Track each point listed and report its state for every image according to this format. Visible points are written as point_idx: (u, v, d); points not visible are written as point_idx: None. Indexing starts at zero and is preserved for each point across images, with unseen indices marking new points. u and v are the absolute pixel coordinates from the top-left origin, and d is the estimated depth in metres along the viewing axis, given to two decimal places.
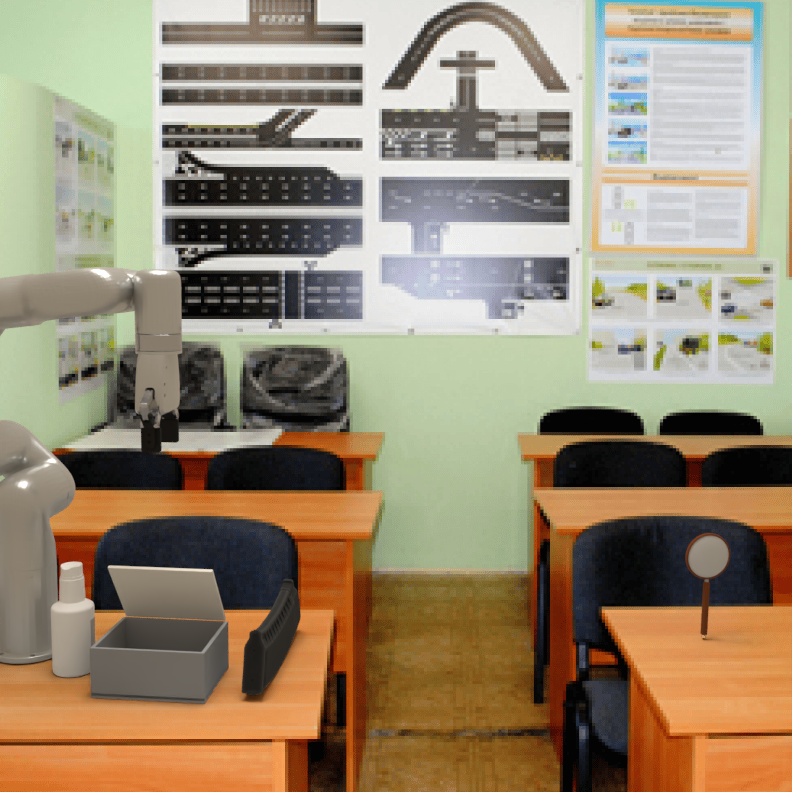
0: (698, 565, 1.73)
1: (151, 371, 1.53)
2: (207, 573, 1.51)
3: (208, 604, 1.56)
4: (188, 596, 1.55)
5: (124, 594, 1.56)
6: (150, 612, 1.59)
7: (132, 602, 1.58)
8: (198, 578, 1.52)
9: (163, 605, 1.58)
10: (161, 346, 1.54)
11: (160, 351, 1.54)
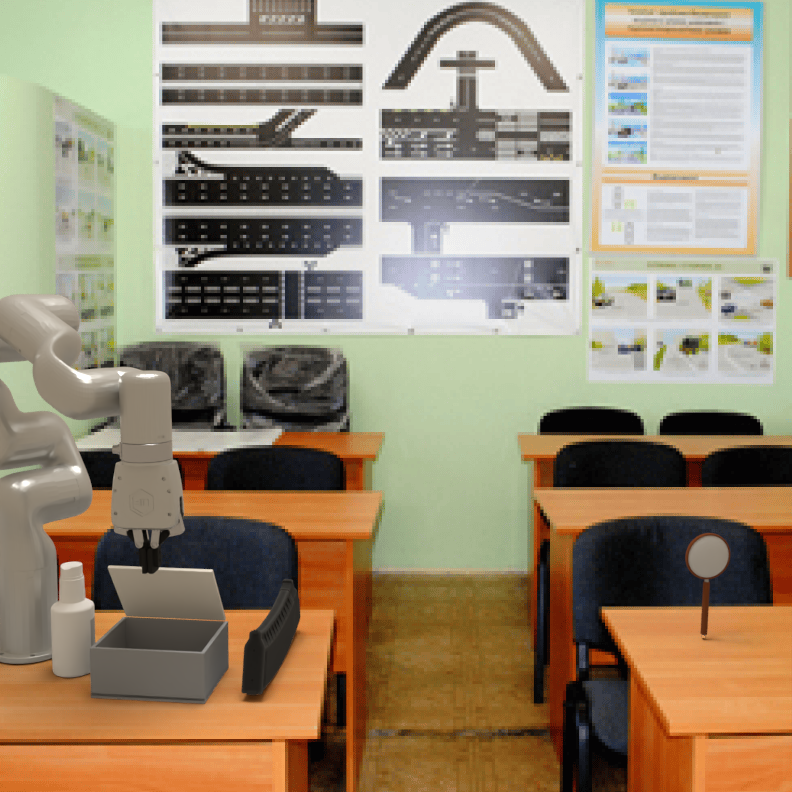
0: (698, 565, 1.73)
1: (179, 479, 1.44)
2: (207, 573, 1.51)
3: (208, 604, 1.56)
4: (188, 596, 1.55)
5: (124, 594, 1.56)
6: (150, 612, 1.59)
7: (132, 602, 1.58)
8: (198, 578, 1.52)
9: (163, 605, 1.58)
10: None
11: None
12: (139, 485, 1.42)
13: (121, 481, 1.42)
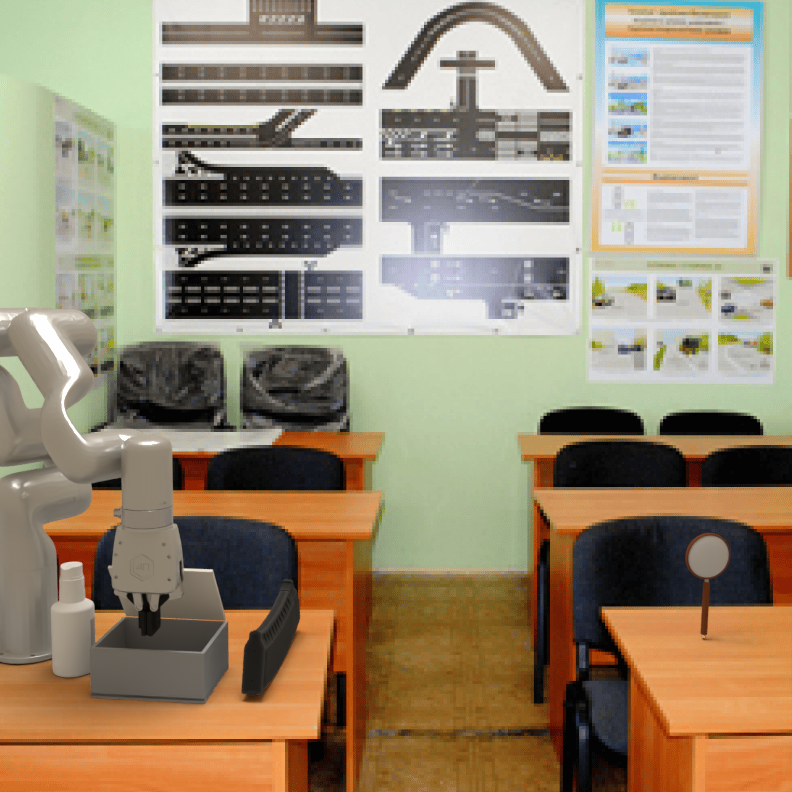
0: (698, 565, 1.73)
1: (179, 543, 1.46)
2: (207, 573, 1.51)
3: (208, 604, 1.56)
4: (188, 596, 1.55)
5: None
6: None
7: None
8: (198, 578, 1.52)
9: (163, 605, 1.58)
10: None
11: None
12: (139, 550, 1.43)
13: (122, 546, 1.43)
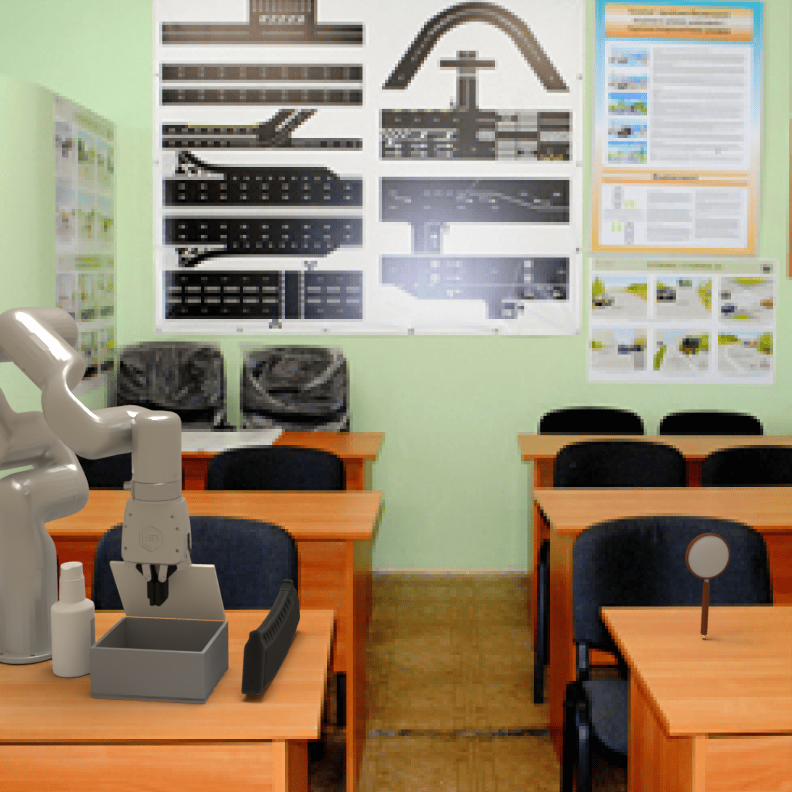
0: (698, 565, 1.73)
1: (187, 516, 1.50)
2: (208, 568, 1.52)
3: (209, 602, 1.57)
4: (189, 594, 1.56)
5: (125, 592, 1.57)
6: (150, 611, 1.59)
7: (133, 601, 1.58)
8: (199, 574, 1.53)
9: (163, 604, 1.58)
10: None
11: (181, 494, 1.50)
12: (149, 522, 1.47)
13: (132, 517, 1.48)
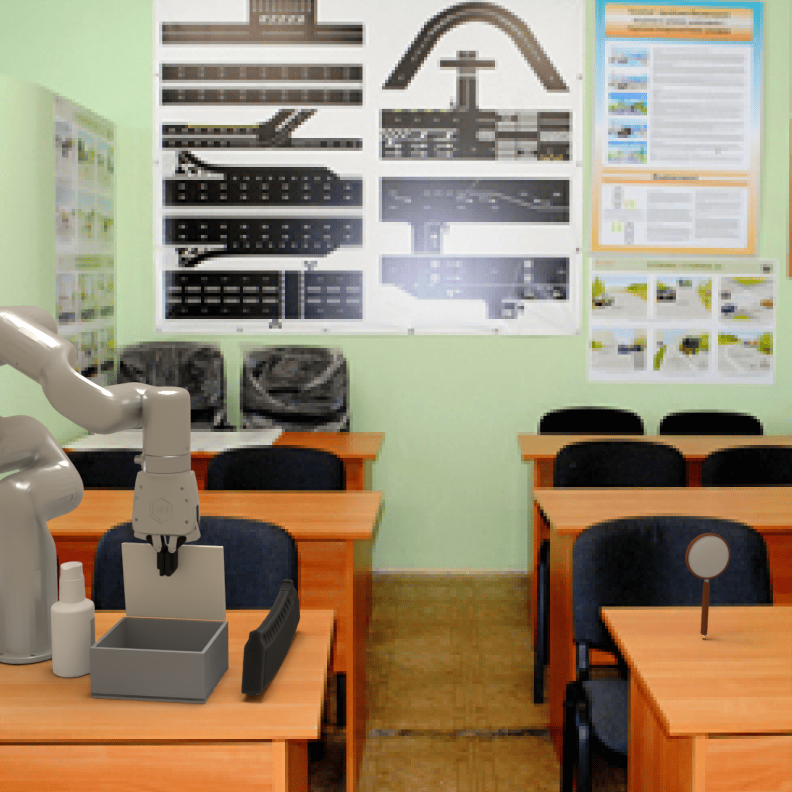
0: (698, 565, 1.73)
1: (196, 488, 1.54)
2: (217, 549, 1.56)
3: (212, 595, 1.58)
4: (193, 584, 1.58)
5: (130, 582, 1.59)
6: (151, 609, 1.60)
7: (136, 594, 1.60)
8: (207, 557, 1.57)
9: (166, 598, 1.59)
10: None
11: (190, 468, 1.55)
12: (159, 494, 1.52)
13: (142, 490, 1.52)
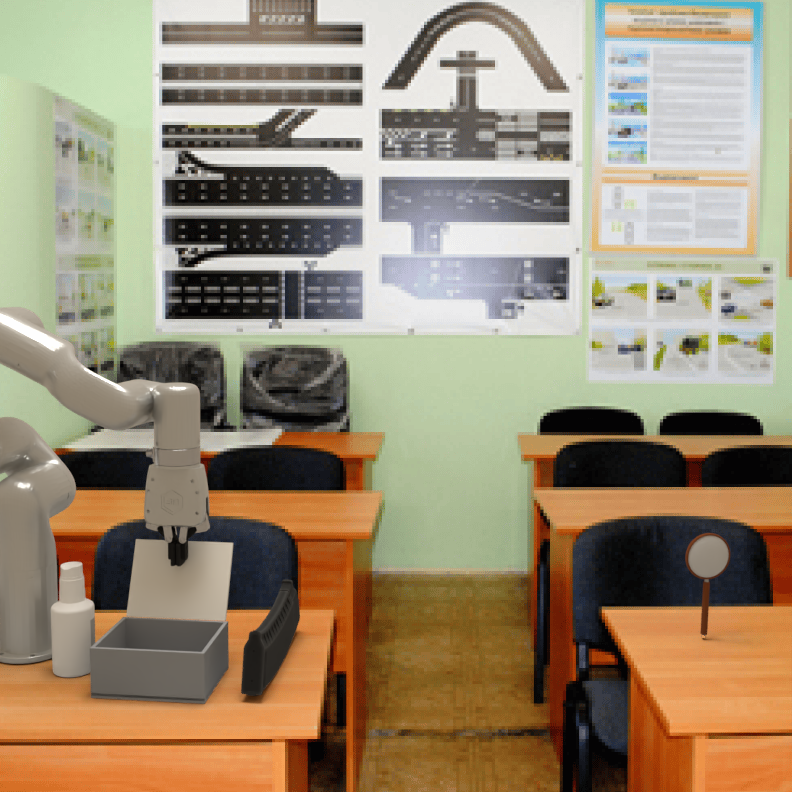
0: (698, 565, 1.73)
1: (206, 481, 1.59)
2: (227, 544, 1.63)
3: (215, 593, 1.61)
4: (199, 581, 1.61)
5: (137, 579, 1.62)
6: (153, 608, 1.61)
7: (140, 592, 1.62)
8: (217, 552, 1.63)
9: (169, 597, 1.61)
10: None
11: None
12: (170, 486, 1.57)
13: (154, 482, 1.57)
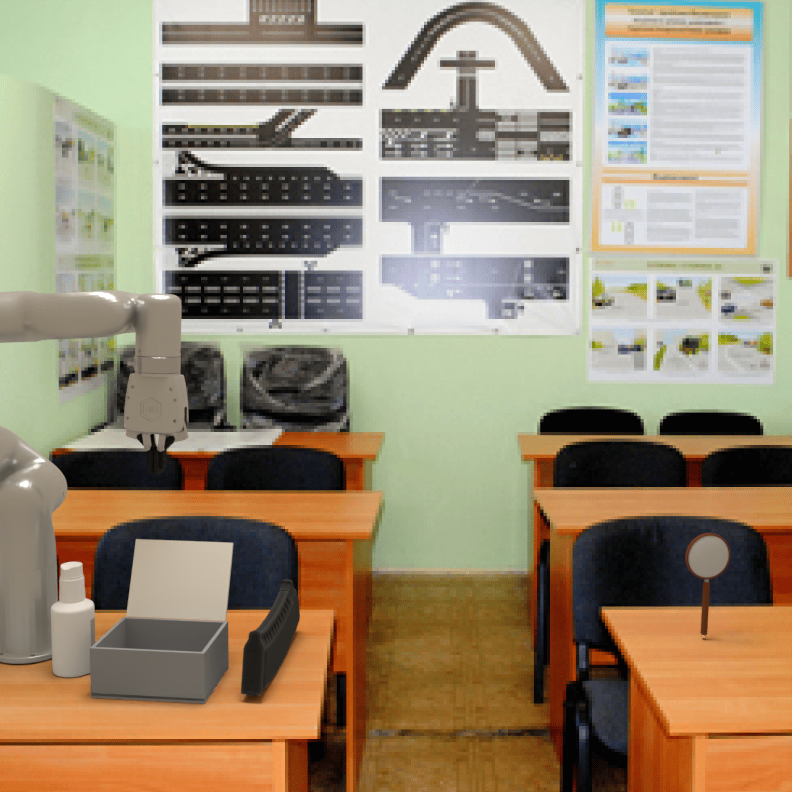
0: (698, 565, 1.73)
1: (185, 391, 1.62)
2: (227, 544, 1.63)
3: (215, 593, 1.61)
4: (199, 581, 1.61)
5: (137, 579, 1.62)
6: (153, 608, 1.61)
7: (140, 592, 1.62)
8: (217, 552, 1.63)
9: (169, 597, 1.61)
10: (180, 367, 1.63)
11: None
12: (149, 394, 1.60)
13: (134, 389, 1.60)
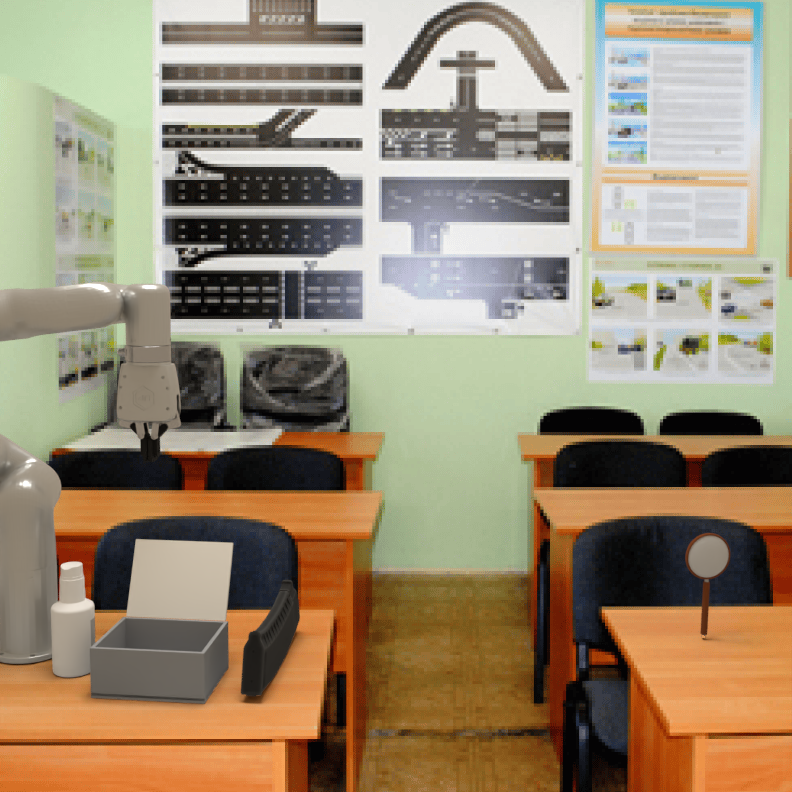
0: (698, 565, 1.73)
1: (177, 379, 1.65)
2: (227, 544, 1.63)
3: (215, 593, 1.61)
4: (199, 581, 1.61)
5: (137, 579, 1.62)
6: (153, 608, 1.61)
7: (140, 592, 1.62)
8: (217, 552, 1.63)
9: (169, 597, 1.61)
10: None
11: None
12: (141, 383, 1.62)
13: (126, 379, 1.62)
